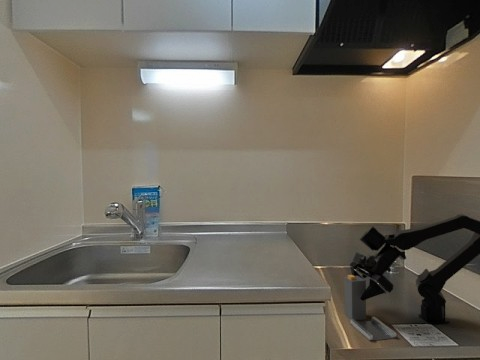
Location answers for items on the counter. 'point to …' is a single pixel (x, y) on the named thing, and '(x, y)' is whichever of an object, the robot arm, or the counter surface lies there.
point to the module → (355, 297)
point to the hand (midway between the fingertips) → (353, 294)
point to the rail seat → (373, 329)
